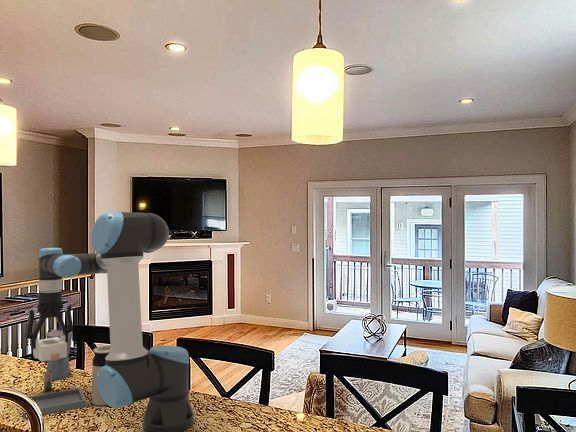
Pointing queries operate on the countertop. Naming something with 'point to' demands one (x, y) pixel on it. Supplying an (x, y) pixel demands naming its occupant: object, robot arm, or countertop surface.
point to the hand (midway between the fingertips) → (49, 355)
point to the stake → (48, 382)
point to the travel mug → (97, 364)
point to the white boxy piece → (51, 349)
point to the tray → (59, 401)
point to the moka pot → (62, 365)
